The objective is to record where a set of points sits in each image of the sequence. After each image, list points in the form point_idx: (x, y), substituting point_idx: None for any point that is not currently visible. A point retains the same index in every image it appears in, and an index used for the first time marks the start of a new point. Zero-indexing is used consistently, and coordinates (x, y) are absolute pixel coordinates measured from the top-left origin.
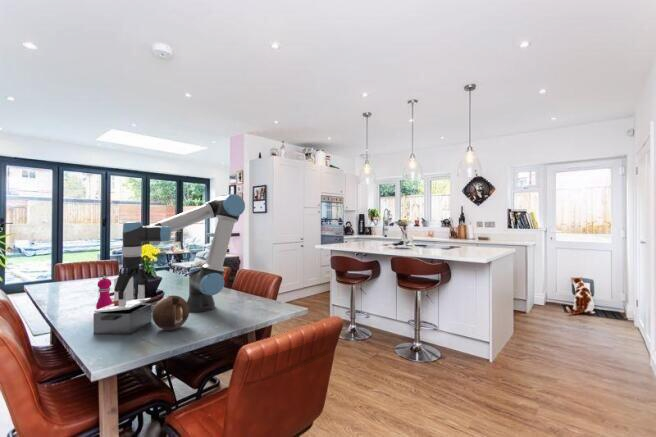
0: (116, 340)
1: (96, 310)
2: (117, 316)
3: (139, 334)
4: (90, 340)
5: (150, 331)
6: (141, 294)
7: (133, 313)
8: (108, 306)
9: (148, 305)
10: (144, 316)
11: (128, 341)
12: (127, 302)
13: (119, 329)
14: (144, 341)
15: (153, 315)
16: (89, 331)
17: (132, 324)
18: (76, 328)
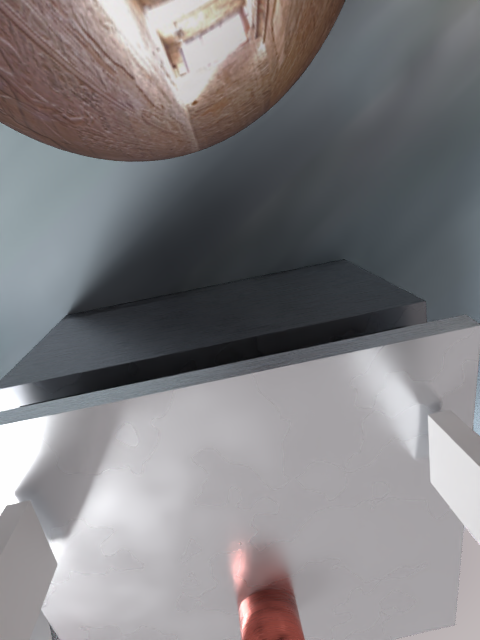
0: (450, 260)
1: (450, 617)
2: None
3: (323, 192)
4: None
5: (246, 155)
6: (13, 586)
7: (352, 310)
8: (320, 634)
9: (55, 376)
10: (153, 321)
11: (463, 157)
12: (182, 579)
13: None
14: (456, 19)
15: (326, 37)
16: None
17: (331, 281)
18: None
